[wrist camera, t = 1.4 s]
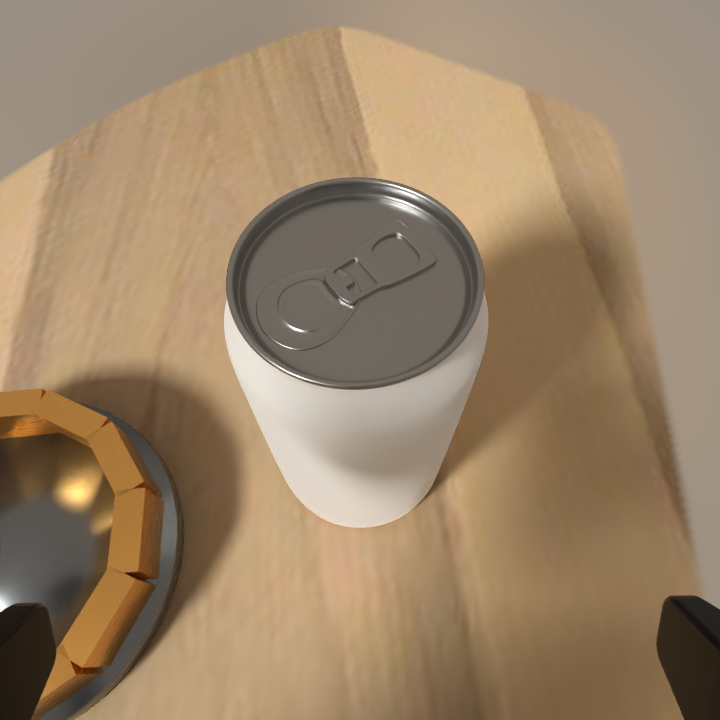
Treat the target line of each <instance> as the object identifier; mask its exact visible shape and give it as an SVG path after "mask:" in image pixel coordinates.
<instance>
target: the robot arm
mask: <svg viewBox="0 0 720 720" xmlns="http://www.w3.org/2000/svg"><path fill="white" fill-rule="evenodd" d="M656 645H657V653H658V657H659V660H660V662H661V665H662V667H663V669H664V672H665V674H666V677H667V679H668V681H669V684H670V686H671V689H672V691H673V694H674V696H675V698H676V701H677V703H678V706H679V708H680V710H681V713H682V715H683V718H684V720H720V609H718V608H716V607H715V606H713V605H711V604H710V603H708V602H706V601H705V600H703V599H701V598H699V597H697V596H691V595H690V596H669V597H667V598H666V599H665V601H664V603H663V607H662V612H661V618H660V623H659V629H658V634H657V641H656ZM56 653H57V648H56V642H55V637H54V633H53V628H52V624H51V619H50V615H49V611H48V608H47V607H46V605H45V604H43V603H15V604H13V605H11V606H9V607H7V608H6V609H4V610H2V611H1V612H0V720H32V717H33V715H34V712H35V710H36V708H37V705H38V703H39V700H40V698H41V696H42V693H43V691H44V688H45V686H46V683H47V681H48V679H49V676H50V674H51V671H52V669H53V666H54V664H55V660H56Z"/></svg>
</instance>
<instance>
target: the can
mask: <svg viewBox="0 0 720 720" xmlns="http://www.w3.org/2000/svg"><path fill="white" fill-rule="evenodd" d="M226 293H227V301H226V307H225V314H224V331H225V339H226V344H227V348H228V353H229V356H230V359H231V362H232V365H233V367H234V370H235V373H236V375H237V377H238V380H239V382H240V384H241V387H242V389H243V391H244V393H245V396H246V398H247V400H248V402H249V404H250V407H251V409H252V411H253V413H254V415H255V417H256V420H257V422H258V424H259V426H260V428H261V430H262V433H263V435H264V437H265V439H266V441H267V443H268V445H269V447H270V450H271V452H272V454H273V456H274V458H275V460H276V462H277V464H278V466H279V468H280V471H281V473H282V475H283V477H284V479H285V480H286V482H287V484H288V486H289V487H290V489H291V490H292V492H293V493H294V494H295V496H296V497H297V498H298V499H299V500H300V501H301V502H302V503H303V504H304V505H305V506H306V507H307V508H308V509H309V510H310V511H312V512H313V513H314V514H316V515H317V516H319V517H321V518H322V519H324V520H326V521H329V522H331V523H334V524H337V525H341V526H346V527H354V528H366V527H374V526H379V525H383V524H386V523H389V522H392V521H394V520H396V519H398V518H400V517H402V516H404V515H405V514H407V513H408V512H409V511H411V510H412V509H413V508H414V507H416V506H417V505H418V504H419V503H420V502H421V500H422V499H423V498H424V497H425V495H426V494H427V493H428V491H429V490H430V488H431V486H432V485H433V483H434V481H435V479H436V476H437V474H438V472H439V469H440V467H441V465H442V462H443V460H444V457H445V455H446V452H447V450H448V447H449V445H450V442H451V440H452V437H453V435H454V432H455V430H456V427H457V425H458V422H459V420H460V417H461V415H462V412H463V409H464V407H465V404H466V402H467V399H468V396H469V394H470V391H471V389H472V386H473V383H474V381H475V378H476V375H477V373H478V370H479V367H480V364H481V361H482V358H483V354H484V351H485V347H486V341H487V335H488V325H489V315H488V306H487V300H486V296H485V292H484V270H483V264H482V260H481V257H480V253H479V251H478V248H477V246H476V244H475V242H474V240H473V238H472V236H471V234H470V233H469V231H468V230H467V229H466V227H465V226H464V225H463V223H462V222H461V221H460V220H459V219H458V218H457V217H456V216H455V215H454V214H453V213H452V212H451V211H450V210H449V209H448V208H447V207H445V206H444V205H443V204H441V203H440V202H438V201H437V200H435V199H434V198H432V197H430V196H429V195H427V194H425V193H423V192H421V191H419V190H417V189H414V188H412V187H409V186H406V185H403V184H400V183H396V182H392V181H388V180H383V179H376V178H364V177H350V178H338V179H331V180H325V181H321V182H317V183H313V184H310V185H307V186H304V187H301V188H299V189H296V190H294V191H292V192H290V193H288V194H286V195H284V196H282V197H281V198H279V199H277V200H276V201H274V202H273V203H271V204H270V205H269V206H267V207H266V208H265V209H264V210H262V211H261V212H260V213H259V214H258V215H257V216H256V217H255V218H254V219H253V220H252V221H251V222H250V223H249V225H248V226H247V227H246V228H245V230H244V231H243V233H242V234H241V236H240V237H239V239H238V241H237V243H236V245H235V247H234V249H233V251H232V254H231V257H230V260H229V264H228V269H227V276H226Z"/></svg>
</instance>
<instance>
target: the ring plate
mask: <svg viewBox="0 0 720 720" xmlns="http://www.w3.org/2000/svg"><path fill="white" fill-rule="evenodd" d="M183 543H184V539H183V516H182V510H181V503H180V499H179V496H178V492H177V489H176V486H175V483H174V481H173V479H172V476H171V474H170V472H169V470H168V468H167V466H166V465H165V463H164V462H163V460H162V459H161V457H160V456H159V454H158V453H157V452H156V451H155V450H154V449H153V448H152V446H151V445H150V444H149V443H148V442H147V441H146V440H145V439H144V438H143V437H142V436H141V435H140V434H139V433H138V432H137V431H135V430H134V429H133V428H131V427H130V426H129V425H128V424H126V423H125V422H124V421H122V420H120V419H119V418H117V417H115V416H113V415H112V414H110V413H108V412H105V411H103V410H100V409H97V408H95V407H92V406H88V405H84V404H79V403H76V402H74V401H72V400H69V399H67V398H65V397H63V396H61V395H59V394H57V393H55V392H52V391H50V390H48V391H47V392H46V391H45V390H43V389H33V390H22V391H11V392H0V612H1V611H2V610H4V609H6V608H7V607H9V606H11V605H13V604H15V603H43V604H45V605H46V607H47V608H48V611H49V615H50V619H51V624H52V628H53V633H54V637H55V642H56V648H57V653H56V660H55V664H54V666H53V669H52V671H51V674H50V676H49V679H48V681H47V683H46V686H45V688H44V691H43V693H42V696H41V698H40V700H39V703H38V705H37V708H36V710H35V712H34V715H33V717H32V720H74V719H76V718H77V717H79V716H80V715H82V714H84V713H85V712H86V711H88V710H89V709H90V708H91V707H92V706H94V705H95V704H96V703H97V702H99V701H100V700H101V699H102V698H104V697H105V696H106V695H107V694H108V693H109V692H110V691H111V690H112V689H113V688H114V687H115V686H116V685H117V684H118V683H119V682H120V681H121V680H122V679H123V678H124V677H125V676H126V674H127V673H128V672H129V671H130V669H131V668H132V667H133V666H134V664H135V663H136V662H137V661H138V659H139V658H140V657H141V656H142V654H143V653H144V651H145V650H146V648H147V646H148V645H149V643H150V642H151V640H152V639H153V637H154V635H155V634H156V632H157V630H158V628H159V626H160V624H161V622H162V620H163V618H164V616H165V614H166V612H167V610H168V607H169V604H170V601H171V599H172V596H173V593H174V590H175V588H176V584H177V579H178V575H179V571H180V567H181V561H182V552H183Z"/></svg>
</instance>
